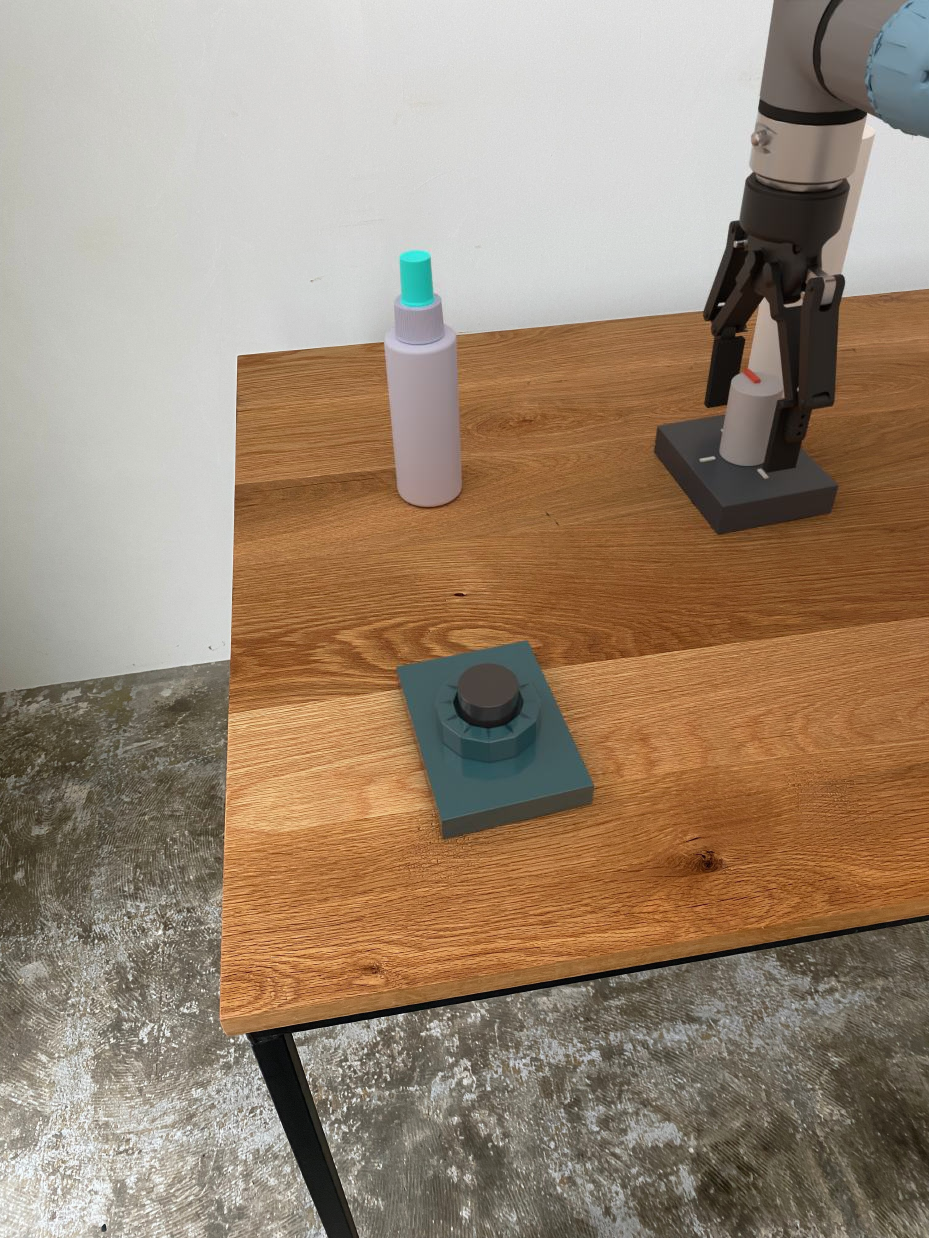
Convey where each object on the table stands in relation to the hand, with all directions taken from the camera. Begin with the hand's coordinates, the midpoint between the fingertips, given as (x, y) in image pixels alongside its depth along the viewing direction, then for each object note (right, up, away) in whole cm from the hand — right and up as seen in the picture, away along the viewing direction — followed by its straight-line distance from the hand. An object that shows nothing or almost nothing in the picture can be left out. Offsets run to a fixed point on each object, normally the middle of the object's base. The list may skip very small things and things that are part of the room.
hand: (747, 434), depth 84 cm
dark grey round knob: (-24, -22, -22) cm, 39 cm away
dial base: (0, -4, +3) cm, 5 cm away
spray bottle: (-29, -5, +4) cm, 29 cm away
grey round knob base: (-24, -25, -19) cm, 40 cm away
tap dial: (0, -1, +1) cm, 2 cm away
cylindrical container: (+9, +9, +17) cm, 21 cm away
